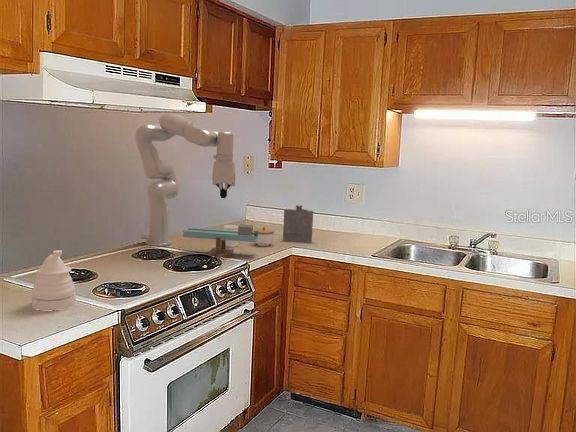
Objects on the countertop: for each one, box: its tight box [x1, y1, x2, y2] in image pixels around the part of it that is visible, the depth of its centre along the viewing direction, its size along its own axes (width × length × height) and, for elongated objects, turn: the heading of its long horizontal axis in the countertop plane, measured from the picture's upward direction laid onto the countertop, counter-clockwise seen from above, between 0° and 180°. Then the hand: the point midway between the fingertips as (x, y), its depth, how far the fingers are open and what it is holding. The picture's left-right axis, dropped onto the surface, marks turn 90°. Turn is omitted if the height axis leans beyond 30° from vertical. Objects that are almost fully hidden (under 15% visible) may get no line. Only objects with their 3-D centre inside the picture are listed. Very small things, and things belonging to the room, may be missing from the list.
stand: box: [206, 237, 235, 259], centre depth 243 cm, size 10×13×9 cm
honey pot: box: [31, 249, 77, 310], centre depth 165 cm, size 13×13×18 cm
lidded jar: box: [253, 226, 275, 247], centre depth 268 cm, size 11×11×9 cm
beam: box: [182, 227, 258, 243], centre depth 243 cm, size 34×10×5 cm, turn 85°
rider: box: [237, 224, 254, 236], centre depth 241 cm, size 6×6×4 cm
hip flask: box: [282, 204, 314, 244], centre depth 279 cm, size 16×4×20 cm, turn 80°
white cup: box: [223, 224, 239, 248], centre depth 263 cm, size 8×8×10 cm
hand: (223, 197), depth 240 cm, fingers closed
